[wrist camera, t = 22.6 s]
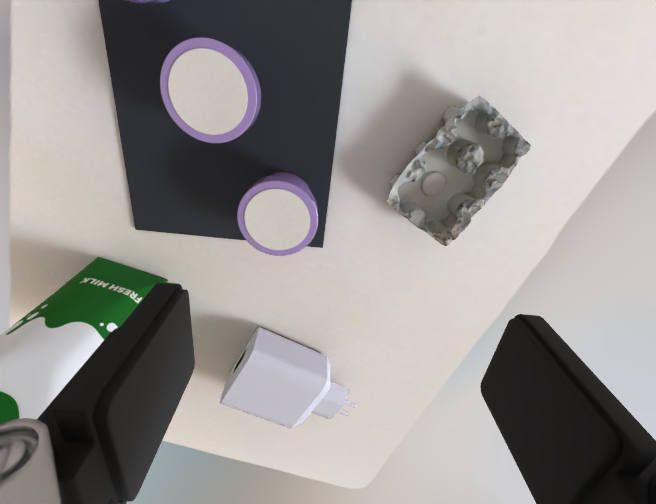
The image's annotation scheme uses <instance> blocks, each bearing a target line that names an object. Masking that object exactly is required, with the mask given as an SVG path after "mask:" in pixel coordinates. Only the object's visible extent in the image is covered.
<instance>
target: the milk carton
mask: <svg viewBox="0 0 656 504" xmlns="http://www.w3.org/2000/svg"><path fill="white" fill-rule="evenodd" d="M167 281H168V280H167V279H163V278H160V277H157V276H154V275H151V274H148V273H145V272H142V271H139V270H136V269H133V268H130V267H127V266H124V265H121V264H118V263H115V262H112V261H109V260H106V259H103V258H100V257H98V258H97V259H95V260H94V261H93V262H92V263H91V264H89V265H88V266H87V267H86V268H84V269H83V270H82V271H81V272H79V273H78V274H77V275H76V276H75V277H73V278H72V279H71V280H70V281H68V282H67V283H66V284H65V285H64V286H62V287H61V288H60V289H59V290H58V291H56V292H55V293H54V294H53V295H51V296H50V297H49V298H48V299H46V300H45V301H44V302H42V303H41V304H40V305H39V306H37V307H36V308H35V309H34V310H32V311H31V312H30V313H28V314H27V315H26V316H25V317H23V318H22V319H21V320H20V321H18V322H17V323H16V324H14V325H13V326H12V327H11V328H9V329H8V330H7V331H6V332H4V333H3V334H2V335H0V423H3V422H6V421H10V420H14V419H22V418H30V419H38V417H39V416H40V415H41V414H42V413H43V411H44V410H45V409H46V408H47V407H48V406H49V404H50V403H51V402H52V401H53V400H54V399H55V397H56V396H57V395H58V394H59V393H60V391H61V390H62V389H63V388H64V387H65V386H66V384H67V383H68V382H69V381H70V380H71V379H72V377H73V376H74V375H75V374H76V373H77V371H78V370H79V369H80V368H81V367H82V366H83V364H84V363H85V362H86V361H87V360H88V359H89V357H90V356H91V355H92V354H93V353H94V351H95V350H96V349H97V348H98V347H99V346H100V344H101V343H102V342H103V341H104V340H105V339H106V337H107V336H108V335H109V334H110V333H111V332H112V331H113V330H114V329H116V328H120V326H121V325H122V324H123V323H124V322H125V320H126V319H127V318H128V317H129V316H130V314H131V313H132V312H133V311H134V310H135V308H136V307H137V306H138V305H139V304H140V302H141V301H142V300H143V299H144V298H145V296H146V295H147V294H148V293H149V291H150V290H151V289H152V288H153V287H154V285H155V284H157V283H158V282H163V283H167Z"/></svg>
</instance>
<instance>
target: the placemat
mask: <svg viewBox="0 0 656 504" xmlns="http://www.w3.org/2000/svg"><path fill="white" fill-rule="evenodd" d="M351 3H352V0H170V1H168V2H164V3H151V2H146V3H132V2H127V1H124V0H99V7H100V13H101V19H102V25H103V31H104V37H105V44H106V50H107V56H108V62H109V68H110V74H111V81H112V87H113V93H114V99H115V105H116V111H117V118H118V124H119V130H120V136H121V142H122V148H123V155H124V161H125V167H126V173H127V179H128V185H129V192H130V198H131V204H132V210H133V216H134V222H135V229H136V230H146V231H156V232H166V233H177V234H187V235H197V236H207V237H218V238H228V239H238V240H246V239H245V237H244V236H243V234H242V232H241V231H240V228H239V225H238V219H237V212H238V206H239V204H240V201H241V199H242V197H243V196H244V195H245V193H246V192H247V190H248V189H249V188H250V187H251V186H252V185H253V184H254V183H255V182H256V181H258V180H260V179H262V178H264V177H267V176H269V175H271V174H273V173H277V172H287V173H291V174H294V175H296V176H298V177H300V178H301V179H303V180H304V181H305V182H306V183H307V185H308V186H309V188H310V189H311V192H312V194H313V196H314V197H315V200H316V202H317V206H318V226H317V230H316V233H315V235H314V237H313V239H312V240H311V242H310V243H309V244H308V245H307V246H310V247H320V248H323V240H324V231H325V223H326V214H327V206H328V197H329V189H330V181H331V172H332V164H333V155H334V147H335V138H336V130H337V121H338V113H339V104H340V96H341V88H342V79H343V71H344V62H345V54H346V45H347V37H348V28H349V20H350V11H351ZM198 37H204V38H211V39H215V40H217V41H220V42H223V43H226V44H228V45H230V46H232V47H233V48H235V49H236V50H238V51H239V52H240V53H241V54H242V55H244V57H245V58H246V59H247V60H248V61H249V63H250V64H251V65H252V67H253V69H254V71H255V73H256V75H257V77H258V80H259V83H260V87H261V106H260V111H259V113H258V116H257V118H256V120H255V122H254V123H253V125H252V126H251V127H250V128H249V129H248V130H247V131H246V132H245V133H243V134H242V135H240V136H239V137H237V138H235V139H233V140H231V141H228V142H224V143H209V142H204V141H201V140H198V139H196V138H194V137H192V136H190V135H189V134H187V133H186V132H185V131H183V130H182V129H181V128H180V127H179V126H178V125H177V124H176V123H175V122H174V120H173V119H172V117H171V116H170V115H169V113H168V111H167V109H166V107H165V104H164V102H163V99H162V95H161V89H160V74H161V69H162V66H163V63H164V61H165V59H166V57H167V55H168V54H169V53H170V51H171V50H172V49H173V48H174V47H175V46H176V45H178V44H179V43H181V42H183V41H185V40H187V39H191V38H198Z"/></svg>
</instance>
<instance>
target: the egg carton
mask: <svg viewBox="0 0 656 504" xmlns="http://www.w3.org/2000/svg"><path fill="white" fill-rule="evenodd" d="M443 119H444V122H445V126H443V127H441V128H440V129H439V131H438V133H437V136H436V137H435V138H434V139H432V140H431V141H430V142H429V143H426V142H423V141H422V142H421V143H420V144H419V145H418V147H417V148H416V149H415V152H416V154H417V156H416V157H415V158H414V159H413V160H412V161H411V162H410V163H409V164H408V165H407V167H406V168H405V170H404V171H403V173H402V174H401V175H399V174H395V175H394V177H393V178H392V179H391V181H390V184H391V185H392V189H391V192H390V195H389V198H388V200H387V201H386V202H387V203H388V204H389V205H390V206H392V207H393V208H394V209H396V210H397V211H398V212H399V213H401V214H402V215H403V216H404V217H406V218H408V219H409V221H410V222H411V223H413V224H414V225H415V226H416V227H418V228H420V229H422V230H424V231H425V232H427V233H428V234H429V235H430V236H432V237H433V238H434V239H435V240H437V241H438V242H440V243H441V244H442V245H445V246H447V245H448V244H449V243H450V242H451V241H452V240H455V239H456V238H457V237H458V235H459V234H460V233H461V232H462V231H463V230H464V229H465V228H466V227H467V226H468V224H469V223H470V222H471V217H472V216H473V215H474V214H475V213H476V212H477V211H479V210H480V209H481V208H482V207H483V206H484V205H485V202H486V201H487V200H488V199H489V198H490V197H491V196H492V195H493V194H494V193H495V192H496V191H497V190H498V189H499V188H501V187H502V185H503V184H504V182H505V181H506V179H507V178H508V177H509V175H510V174H511V172H512V170H513V168H514V167H515V166H516V165H517V163H518V160H519V158H520V156H523V155H525V154H526V153H527V152H528V151H529V149H530V147H531V145H530V144H529V143H528V142H527V141H526V140H525V139H524V138H523V137H522V136H521V135H520V134H519V133H518V132H517V131H516V130H515V129H514V128H513V127H512V126H511V125H510V124H509V122H508V121H507V120H506V119H505V118H504V117H503V116H502V115H501V114H500V113H499V112H498V111H497V110H496V109H495V108H493V107H492V106H491V105H490V104H489V103H488V102H487V101H486V100H485V99H483V98H482V97H480V96H479V97H476V98H475V99H473V100H472V101H470V102H469V103H467V104H466V105H465V106H464V107H462V108H461V109H460V108H456V107H449V108H448V109H447V111H446V112H445V113H444V115H443Z"/></svg>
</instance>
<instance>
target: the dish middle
mask: <svg viewBox="0 0 656 504" xmlns="http://www.w3.org/2000/svg"><path fill="white" fill-rule="evenodd" d="M160 89H161V95H162V99H163V102H164V104H165V107H166V109H167V111H168V113H169V115H170V116H171V117H172V119H173V120H174V122H175V123H176V124H177V125H178V126H179V127H180V128H181V129H182V130H183V131H185V132H186V133H187V134H189V135H190V136H192V137H194V138H196V139H198V140H201V141H204V142H209V143H224V142H228V141H231V140H233V139H235V138H237V137H239V136H240V135H242V134H243V133H245V132H246V131H247V130H248V129H249V128H250V127H251V126H252V125H253V123H254V122H255V120H256V118H257V116H258V113H259V111H260V106H261V87H260V83H259V80H258V77H257V75H256V73H255V71H254V69H253V67H252V65H251V64H250V63H249V61H248V60H247V59H246V58H245V57H244V55H242V54H241V53H240V52H239V51H238V50H236V49H235V48H233V47H232V46H230V45H228V44H226V43H223V42H220V41H217V40H215V39H211V38H204V37H198V38H191V39H187V40H185V41H183V42H181V43H179V44H178V45H176V46H175V47H174V48H173V49H172V50H171V51H170V53H169V54H168V55H167V57H166V59H165V61H164V63H163V66H162V69H161V74H160Z"/></svg>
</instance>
